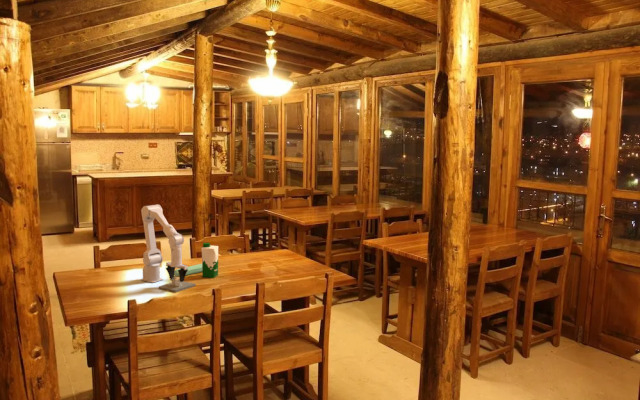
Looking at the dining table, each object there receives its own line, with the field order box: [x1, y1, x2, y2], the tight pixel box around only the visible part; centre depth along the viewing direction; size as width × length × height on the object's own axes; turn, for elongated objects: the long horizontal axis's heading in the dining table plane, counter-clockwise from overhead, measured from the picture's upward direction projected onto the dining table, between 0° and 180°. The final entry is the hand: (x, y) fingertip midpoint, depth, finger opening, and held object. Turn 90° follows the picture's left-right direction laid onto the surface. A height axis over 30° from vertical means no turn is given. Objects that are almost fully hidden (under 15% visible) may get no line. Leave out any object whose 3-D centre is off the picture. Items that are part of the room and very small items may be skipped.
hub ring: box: [171, 276, 182, 287], centre depth 309 cm, size 5×5×4 cm
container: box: [174, 263, 202, 277], centre depth 338 cm, size 6×6×25 cm
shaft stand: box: [158, 278, 196, 293], centre depth 309 cm, size 13×15×5 cm
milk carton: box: [200, 242, 219, 279], centre depth 331 cm, size 9×9×20 cm
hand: (177, 280), depth 309 cm, fingers open, 7 cm apart
